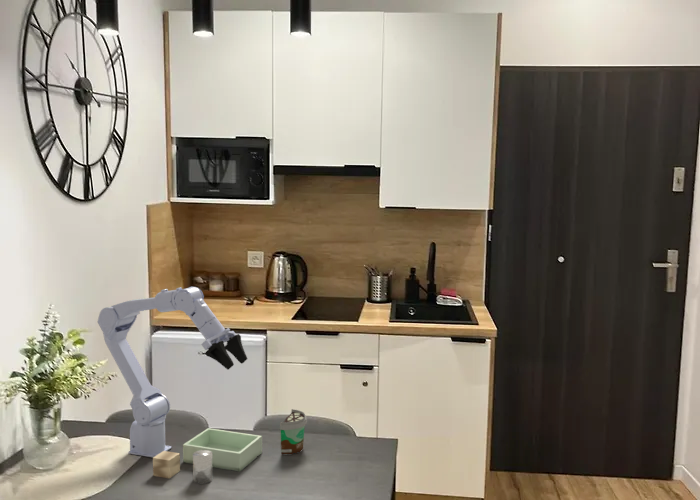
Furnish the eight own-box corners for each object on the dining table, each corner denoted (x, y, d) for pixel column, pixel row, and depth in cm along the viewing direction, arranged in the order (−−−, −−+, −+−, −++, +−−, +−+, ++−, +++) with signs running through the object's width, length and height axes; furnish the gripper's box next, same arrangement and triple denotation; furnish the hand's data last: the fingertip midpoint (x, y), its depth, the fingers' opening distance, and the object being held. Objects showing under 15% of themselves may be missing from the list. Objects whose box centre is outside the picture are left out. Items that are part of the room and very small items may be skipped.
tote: (183, 462, 193) (182, 444, 193) (208, 444, 206) (208, 428, 205) (239, 471, 187) (239, 453, 187) (262, 452, 200) (262, 435, 200)
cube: (153, 475, 184) (152, 457, 184) (164, 468, 189) (163, 450, 188) (169, 478, 183) (169, 460, 182) (180, 471, 187) (179, 453, 187)
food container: (300, 458, 196) (300, 424, 195) (279, 456, 198) (279, 422, 197) (311, 442, 208) (311, 410, 207) (291, 440, 210) (292, 408, 209)
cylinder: (189, 481, 181) (189, 456, 180) (199, 474, 186) (199, 448, 185) (206, 484, 179) (206, 458, 178) (216, 477, 184) (216, 451, 183)
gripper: (203, 319, 181) (234, 360, 178) (231, 311, 194) (260, 350, 192) (186, 335, 183) (216, 377, 180) (214, 327, 196) (243, 365, 194)
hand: (237, 364), depth 186 cm, fingers open, 7 cm apart
